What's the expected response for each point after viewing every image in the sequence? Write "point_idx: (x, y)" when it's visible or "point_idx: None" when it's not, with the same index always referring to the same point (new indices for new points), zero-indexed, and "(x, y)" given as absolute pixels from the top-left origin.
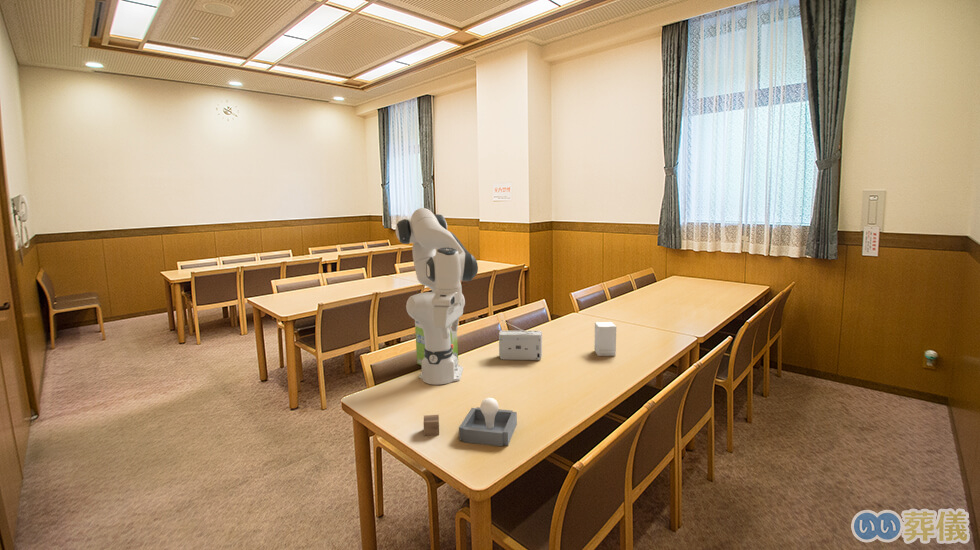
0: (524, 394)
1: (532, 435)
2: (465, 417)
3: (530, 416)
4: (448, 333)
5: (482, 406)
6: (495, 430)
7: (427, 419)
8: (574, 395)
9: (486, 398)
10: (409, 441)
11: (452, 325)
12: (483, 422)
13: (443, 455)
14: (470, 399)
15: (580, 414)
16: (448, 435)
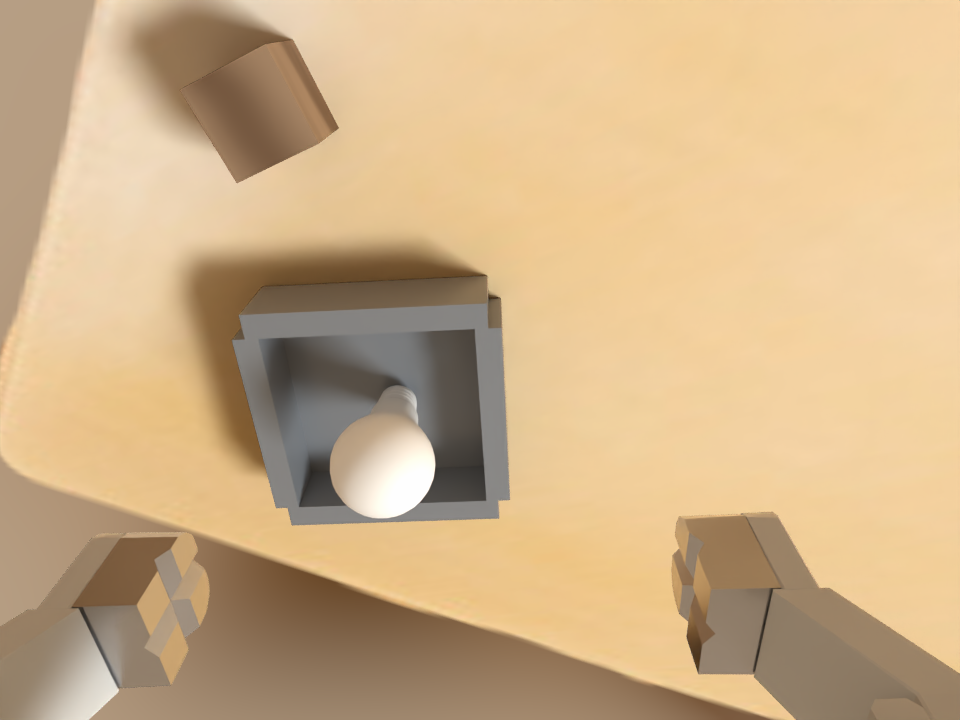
0: (841, 445)
1: (421, 544)
2: (357, 309)
3: (587, 511)
4: (151, 680)
5: (337, 452)
6: (287, 477)
7: (226, 98)
8: None
9: (376, 482)
10: (125, 16)
11: (777, 593)
12: (455, 349)
13: (108, 264)
14: (756, 175)
15: (642, 658)
16: (283, 215)
